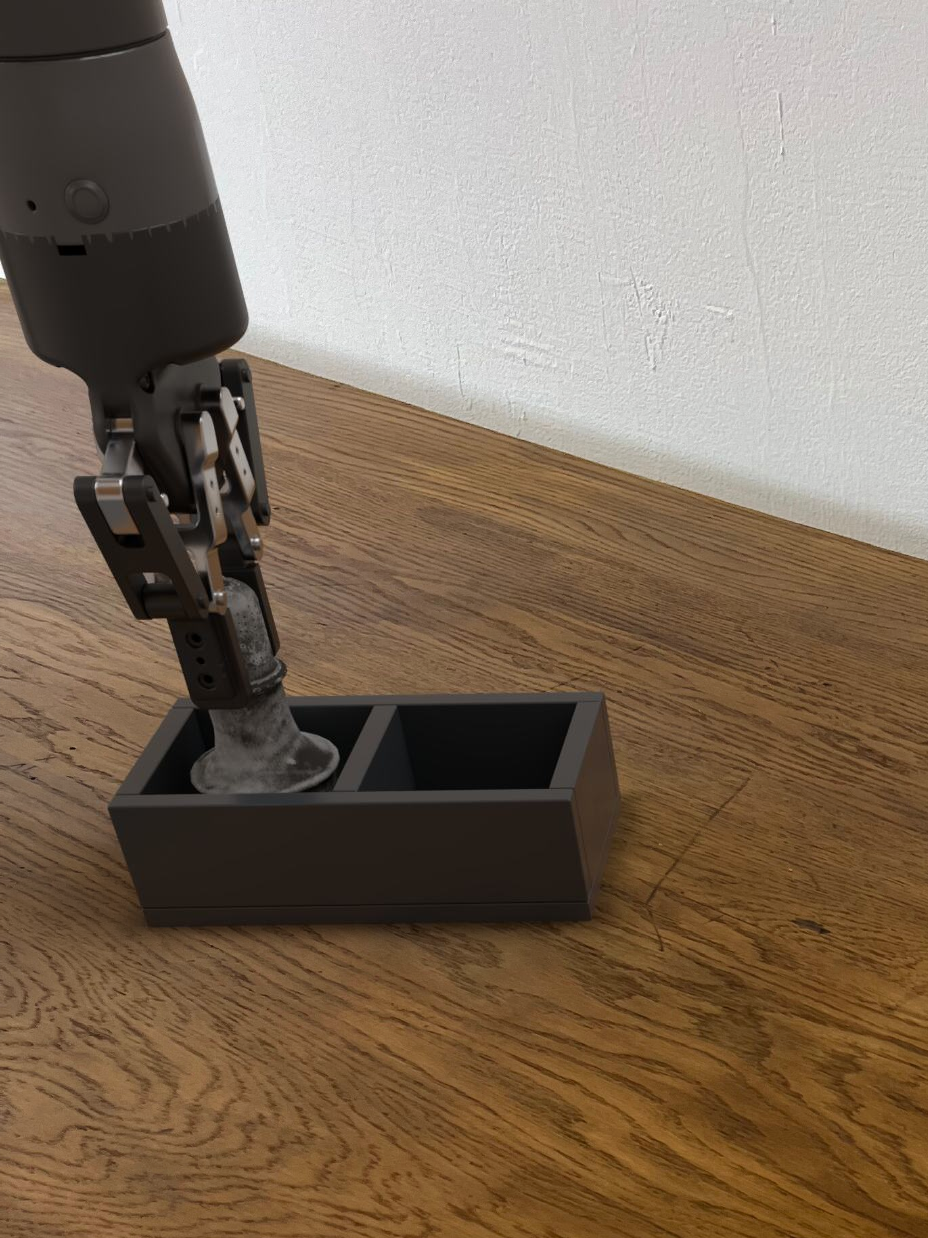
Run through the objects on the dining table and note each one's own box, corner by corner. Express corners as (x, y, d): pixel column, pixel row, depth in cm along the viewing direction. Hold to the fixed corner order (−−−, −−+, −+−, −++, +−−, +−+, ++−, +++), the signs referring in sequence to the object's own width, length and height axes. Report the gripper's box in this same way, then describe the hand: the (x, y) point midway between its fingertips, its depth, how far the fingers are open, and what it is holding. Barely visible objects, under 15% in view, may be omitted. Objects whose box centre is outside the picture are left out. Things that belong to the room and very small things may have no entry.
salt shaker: (201, 829, 87) (112, 545, 79) (340, 797, 89) (267, 516, 81) (230, 892, 83) (140, 600, 75) (374, 857, 85) (302, 569, 77)
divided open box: (592, 924, 84) (570, 799, 80) (148, 930, 84) (105, 806, 80) (623, 810, 91) (604, 690, 87) (213, 816, 91) (177, 697, 87)
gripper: (60, 143, 75) (195, 608, 87) (-92, 256, 64) (86, 767, 76) (266, 140, 75) (374, 606, 87) (148, 253, 64) (288, 765, 76)
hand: (238, 679), depth 81 cm, fingers closed on salt shaker, 3 cm apart
